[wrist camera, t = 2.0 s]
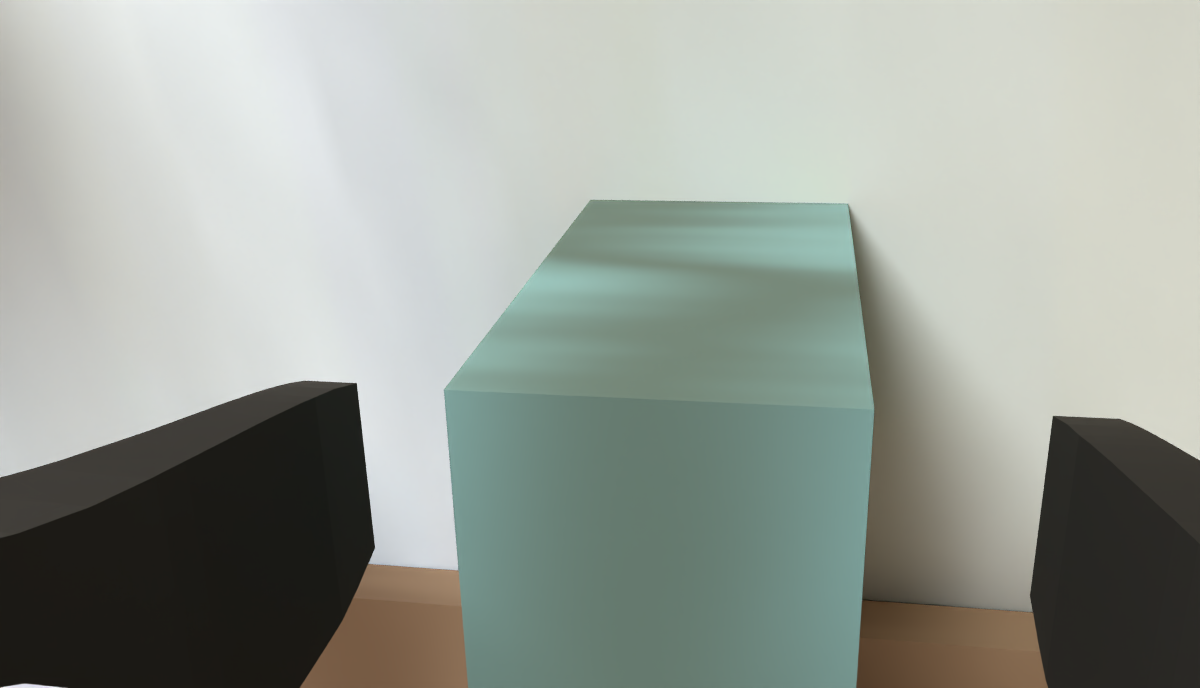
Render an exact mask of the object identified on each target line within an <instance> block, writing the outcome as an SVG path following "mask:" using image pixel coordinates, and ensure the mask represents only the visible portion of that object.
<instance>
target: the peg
mask: <svg viewBox="0 0 1200 688" xmlns="http://www.w3.org/2000/svg"><path fill="white" fill-rule="evenodd" d="M444 396H445V408H446V421H447V433H448V445H449V458H450V470H451V482H452V495H453V507H454V519H455V532H456V544H457V556H458V569H459V581H460V593H461V606H462V618H463V630H464V643H465V655H466V668H467V680H468V688H856V683H857V668H858V653H859V637H860V622H861V607H862V591H863V576H864V561H865V545H866V530H867V514H868V499H869V484H870V468H871V453H872V438H873V422H874V403H873V395H872V387H871V379H870V372H869V364H868V356H867V348H866V340H865V333H864V325H863V317H862V309H861V301H860V293H859V286H858V278H857V270H856V262H855V254H854V247H853V239H852V231H851V223H850V215H849V208H848V204H828V203H762V202H696V201H630V200H590V201H589V203H588V204H587V205H586V207H585V208H584V209H583V211H582V212H581V213H580V214H579V216H578V217H577V218H576V220H575V221H574V222H573V223H572V225H571V226H570V227H569V229H568V230H567V231H566V233H565V234H564V235H563V236H562V238H561V239H560V240H559V242H558V243H557V244H556V246H555V247H554V248H553V249H552V251H551V252H550V253H549V255H548V256H547V257H546V258H545V260H544V261H543V262H542V264H541V265H540V266H539V268H538V269H537V270H536V271H535V273H534V274H533V275H532V277H531V278H530V279H529V280H528V282H527V283H526V284H525V286H524V287H523V288H522V290H521V291H520V292H519V293H518V295H517V296H516V297H515V299H514V300H513V301H512V302H511V304H510V305H509V306H508V308H507V309H506V310H505V312H504V313H503V314H502V315H501V317H500V318H499V319H498V321H497V322H496V323H495V324H494V326H493V327H492V328H491V330H490V331H489V332H488V334H487V335H486V336H485V337H484V339H483V340H482V341H481V343H480V344H479V345H478V346H477V348H476V349H475V350H474V352H473V353H472V354H471V356H470V357H469V358H468V359H467V361H466V362H465V363H464V365H463V366H462V367H461V368H460V370H459V371H458V372H457V374H456V375H455V376H454V378H453V379H452V380H451V381H450V383H449V384H448V385H447V387H446V388H445V389H444Z"/></svg>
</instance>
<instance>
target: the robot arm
mask: <svg viewBox="0 0 1200 688" xmlns="http://www.w3.org/2000/svg"><path fill="white" fill-rule="evenodd" d="M374 549H375V544H374V535H373V526H372V517H371V508H370V499H369V490H368V481H367V472H366V463H365V454H364V445H363V436H362V427H361V418H360V409H359V400H358V391H357V383H339V382H318V381H301V382H294V383H288V384H284V385H280V386H276V387H273V388H269V389H266V390H262V391H259V392H256V393H253V394H250V395H247V396H244V397H241V398H238V399H235V400H232V401H230V402H227V403H224V404H221V405H218V406H216V407H213V408H210V409H207V410H205V411H202V412H199V413H196V414H194V415H191V416H188V417H185V418H183V419H180V420H177V421H174V422H172V423H169V424H166V425H163V426H161V427H158V428H155V429H152V430H150V431H147V432H144V433H141V434H138V435H135V436H132V437H129V438H126V439H123V440H120V441H117V442H114V443H111V444H108V445H105V446H102V447H99V448H96V449H93V450H90V451H87V452H84V453H81V454H78V455H75V456H72V457H69V458H66V459H63V460H60V461H57V462H54V463H50V464H47V465H44V466H40V467H37V468H34V469H30V470H26V471H23V472H19V473H16V474H12V475H9V476H5V477H1V478H0V688H300V687H301V685H302V684H303V682H304V681H305V679H306V678H307V676H308V674H309V673H310V671H311V670H312V668H313V667H314V665H315V664H316V662H317V660H318V659H319V657H320V656H321V654H322V653H323V651H324V649H325V648H326V646H327V645H328V643H329V642H330V640H331V638H332V637H333V635H334V634H335V632H336V630H337V629H338V627H339V626H340V624H341V622H342V621H343V619H344V617H345V614H346V612H347V610H348V608H349V606H350V604H351V602H352V600H353V597H354V595H355V593H356V591H357V589H358V587H359V584H360V582H361V580H362V577H363V575H364V572H365V570H366V568H367V565H368V563H369V561H370V558H371V556H372V553H373V551H374ZM1030 598H1031V604H1032V610H1033V615H1034V621H1035V627H1036V633H1037V639H1038V644H1039V649H1040V654H1041V659H1042V664H1043V669H1044V675H1045V680H1046V683H1047V686H1048V688H1200V460H1198V459H1196V458H1194V457H1193V456H1191V455H1189V454H1187V453H1186V452H1184V451H1182V450H1181V449H1179V448H1177V447H1175V446H1174V445H1172V444H1170V443H1168V442H1167V441H1165V440H1163V439H1161V438H1159V437H1158V436H1156V435H1154V434H1152V433H1150V432H1148V431H1146V430H1144V429H1142V428H1140V427H1138V426H1136V425H1134V424H1132V423H1129V422H1126V421H1124V420H1121V419H1107V418H1086V417H1064V416H1053V420H1052V428H1051V436H1050V444H1049V452H1048V459H1047V467H1046V475H1045V483H1044V491H1043V499H1042V507H1041V515H1040V522H1039V530H1038V538H1037V546H1036V554H1035V562H1034V570H1033V577H1032V585H1031V593H1030Z"/></svg>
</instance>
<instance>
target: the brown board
mask: <svg viewBox="0 0 1200 688" xmlns="http://www.w3.org/2000/svg"><path fill="white" fill-rule="evenodd" d="M300 688H468V680H467V668H466V655H465V643H464V630H463V618H462V606H461V593H460V581H459V571H455V570H442V569H428V568H414V567H401V566H387V565H373V564H368V565H367V568H366V570H365V572H364V575H363V577H362V580H361V582H360V584H359V587H358V589H357V591H356V593H355V595H354V597H353V600H352V602H351V604H350V606H349V608H348V610H347V612H346V614H345V617H344V619H343V621H342V622H341V624H340V626H339V627H338V629H337V630H336V632H335V634H334V635H333V637H332V638H331V640H330V642H329V643H328V645H327V646H326V648H325V649H324V651H323V653H322V654H321V656H320V657H319V659H318V660H317V662H316V664H315V665H314V667H313V668H312V670H311V671H310V673H309V674H308V676H307V678H306V679H305V681H304V682H303V684H302V685H301V687H300ZM856 688H1048V686H1047V683H1046V680H1045V675H1044V669H1043V664H1042V659H1041V654H1040V649H1039V644H1038V639H1037V633H1036V627H1035V621H1034V615H1033V613H1032V612H1018V611H1004V610H991V609H977V608H963V607H949V606H936V605H922V604H908V603H895V602H881V601H867V600H862V607H861V622H860V637H859V653H858V668H857V683H856Z"/></svg>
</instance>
